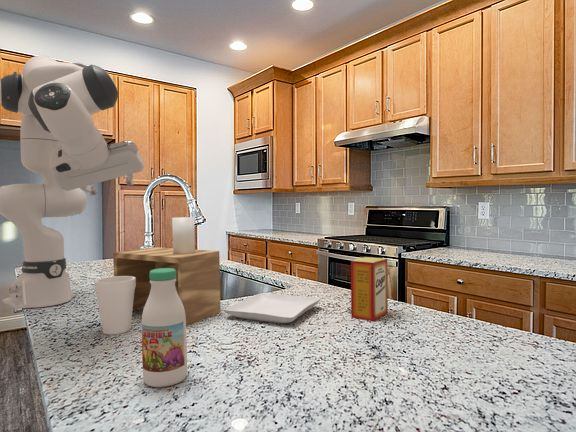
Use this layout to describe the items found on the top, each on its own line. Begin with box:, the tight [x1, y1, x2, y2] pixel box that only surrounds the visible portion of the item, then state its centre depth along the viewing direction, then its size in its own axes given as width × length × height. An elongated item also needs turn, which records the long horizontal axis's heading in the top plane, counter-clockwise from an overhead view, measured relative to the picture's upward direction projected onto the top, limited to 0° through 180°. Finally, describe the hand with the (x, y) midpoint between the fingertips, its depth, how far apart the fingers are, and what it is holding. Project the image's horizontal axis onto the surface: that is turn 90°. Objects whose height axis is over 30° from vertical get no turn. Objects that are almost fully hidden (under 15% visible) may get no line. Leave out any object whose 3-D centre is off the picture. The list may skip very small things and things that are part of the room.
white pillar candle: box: [171, 216, 196, 254], centre depth 109 cm, size 6×6×10 cm
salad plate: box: [224, 292, 322, 324], centre depth 112 cm, size 21×21×3 cm
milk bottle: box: [141, 268, 188, 388], centre depth 71 cm, size 8×8×20 cm
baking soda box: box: [350, 256, 389, 323], centre depth 108 cm, size 10×6×16 cm
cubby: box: [112, 246, 222, 327], centre depth 113 cm, size 27×15×18 cm, turn 61°
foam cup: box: [94, 275, 136, 335], centre depth 99 cm, size 10×9×13 cm
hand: (112, 188), depth 102 cm, fingers open, 8 cm apart
